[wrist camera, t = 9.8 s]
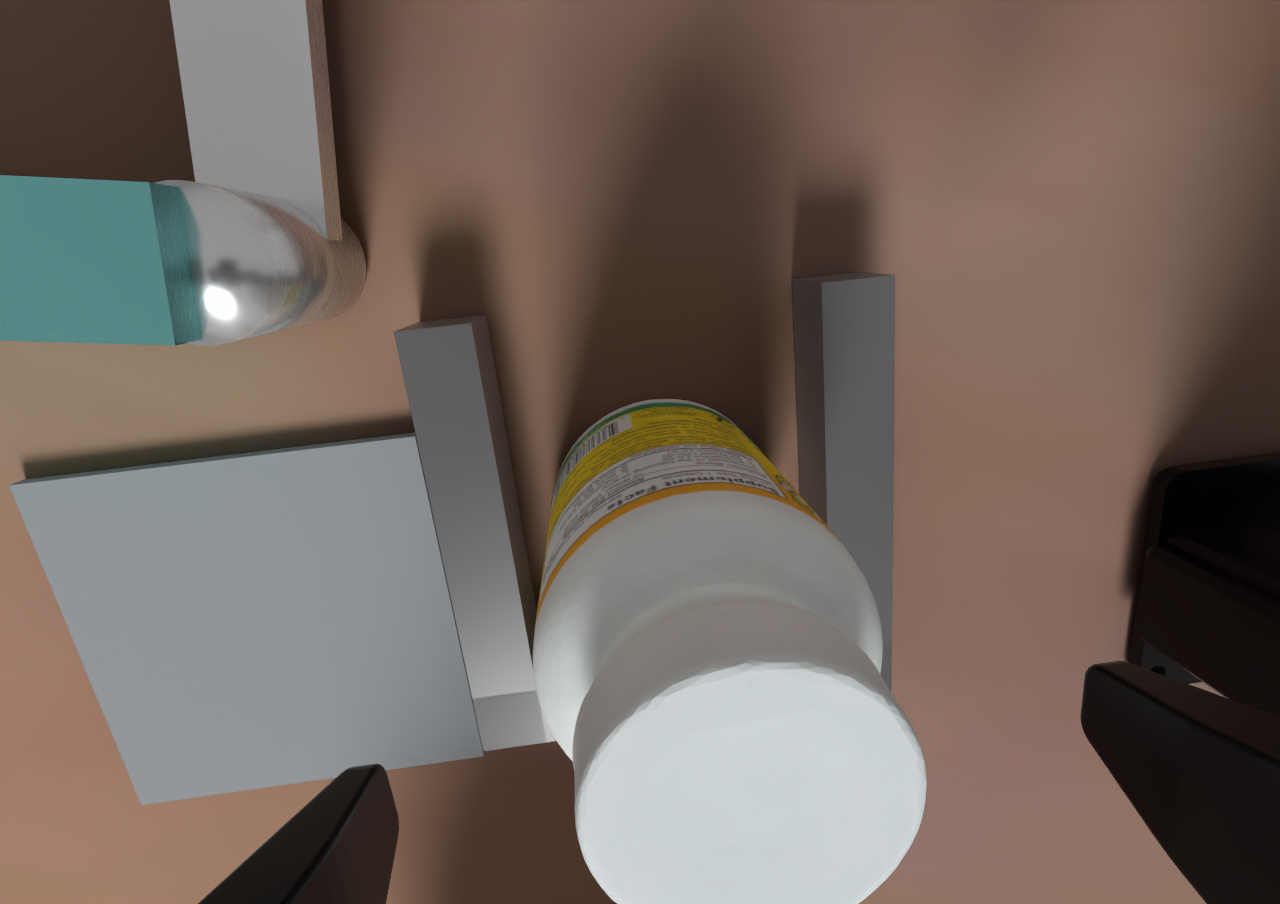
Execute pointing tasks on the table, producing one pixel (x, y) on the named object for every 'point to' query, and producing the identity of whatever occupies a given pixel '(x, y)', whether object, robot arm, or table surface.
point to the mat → (259, 614)
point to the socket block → (488, 504)
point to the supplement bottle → (716, 674)
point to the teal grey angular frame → (198, 204)
